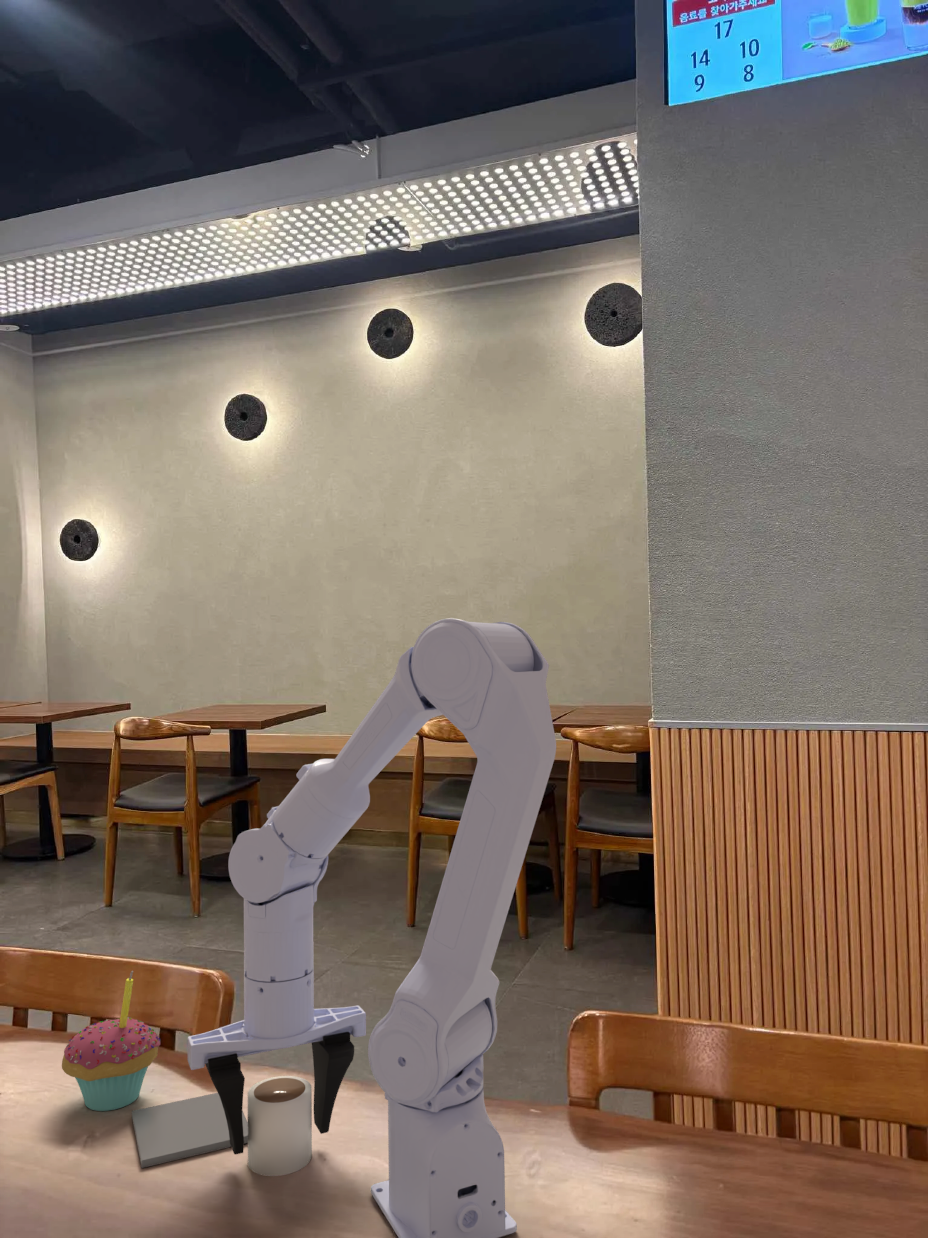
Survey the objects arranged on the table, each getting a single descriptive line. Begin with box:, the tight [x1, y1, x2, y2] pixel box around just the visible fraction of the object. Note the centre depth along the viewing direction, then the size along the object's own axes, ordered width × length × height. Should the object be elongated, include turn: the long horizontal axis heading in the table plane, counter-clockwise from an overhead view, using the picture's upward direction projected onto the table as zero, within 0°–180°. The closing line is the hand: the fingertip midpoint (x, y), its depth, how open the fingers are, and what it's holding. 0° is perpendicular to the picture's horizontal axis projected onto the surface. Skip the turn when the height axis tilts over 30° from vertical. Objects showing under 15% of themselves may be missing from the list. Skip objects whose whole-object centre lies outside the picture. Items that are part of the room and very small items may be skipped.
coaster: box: [131, 1092, 248, 1169], centre depth 79 cm, size 9×9×1 cm
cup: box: [247, 1075, 313, 1177], centre depth 74 cm, size 5×5×6 cm
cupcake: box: [61, 970, 161, 1112], centre depth 85 cm, size 9×8×12 cm
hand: (279, 1137), depth 74 cm, fingers open, 6 cm apart
